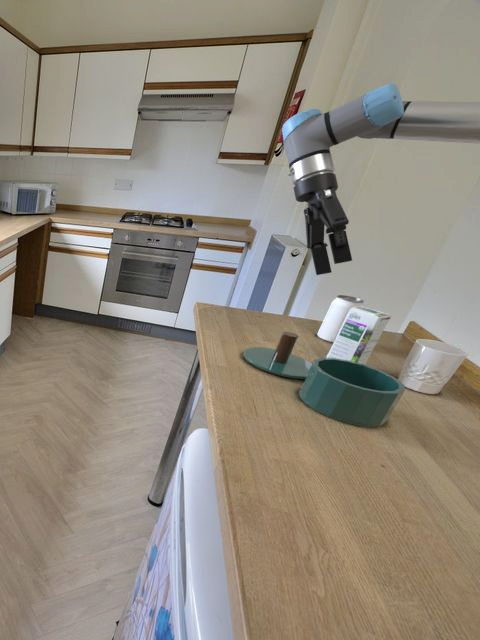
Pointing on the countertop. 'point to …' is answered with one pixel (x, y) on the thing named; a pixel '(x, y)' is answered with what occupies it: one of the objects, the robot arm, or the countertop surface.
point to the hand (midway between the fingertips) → (333, 268)
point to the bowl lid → (279, 358)
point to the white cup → (430, 365)
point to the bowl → (351, 392)
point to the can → (337, 316)
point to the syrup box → (359, 334)
